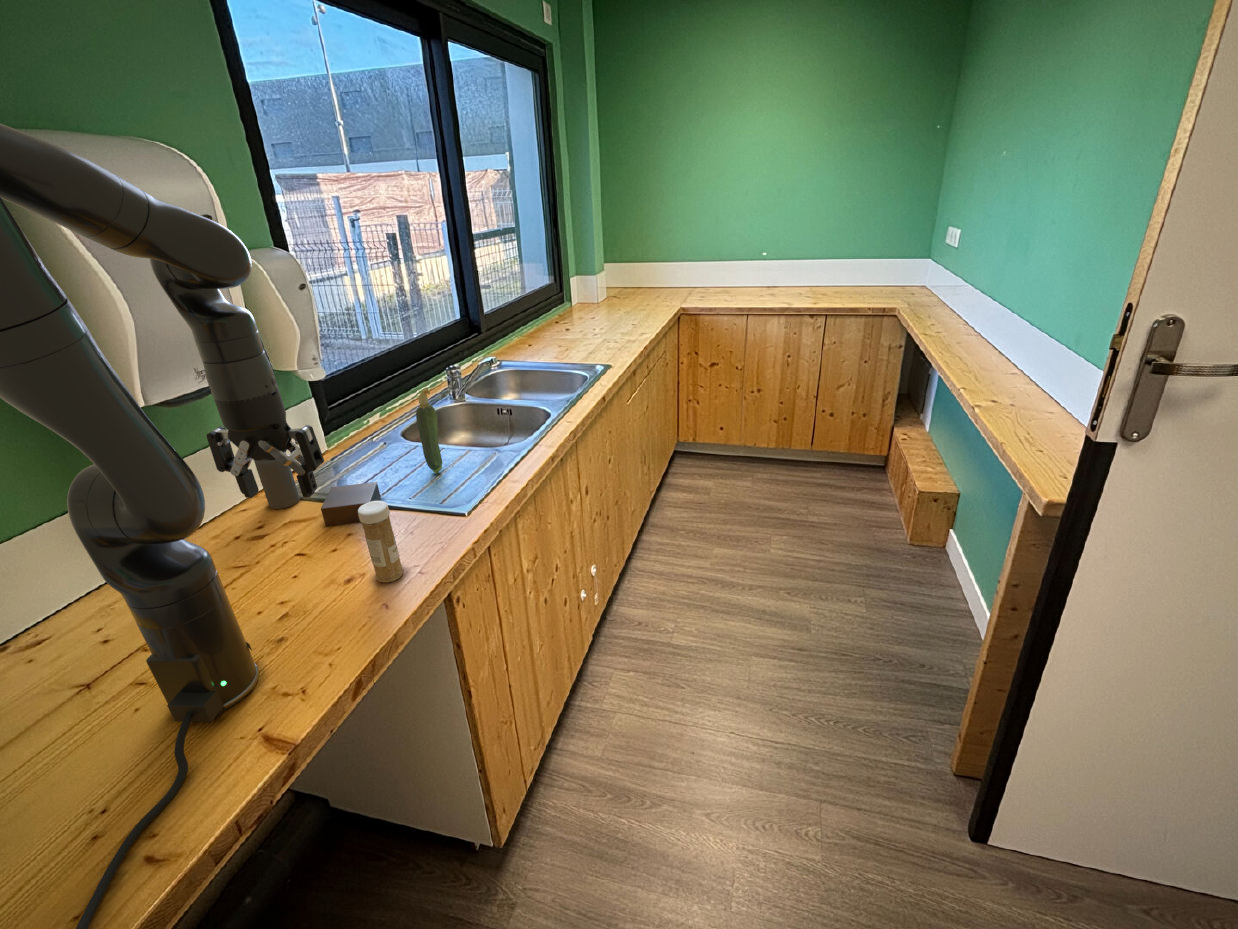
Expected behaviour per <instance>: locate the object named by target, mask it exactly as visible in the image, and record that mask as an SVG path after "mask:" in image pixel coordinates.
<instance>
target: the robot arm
mask: <svg viewBox="0 0 1238 929" xmlns="http://www.w3.org/2000/svg"><path fill="white" fill-rule="evenodd" d="M4 201H5V202H8V203H11V204H13V205H15V206H18V207H19V208H22V209H24V210H26V211H29V212H31V213H33V214H35V215H38V216H40V217H41V218H44V219H46V220H48V221H51V222H53V223H55V224H57V225H59V226H61V227H63V228H66V229H67V230H70V231H72V232H74V233H76V234H78V235H80V236H82V237H84V238H86V239H89V240H91V241H93V242H95V243H98V244H99V245H102V246H104V247H106V248H108V249H111V250H113V251H115V252H117V253H120V254H123V255H126V256H130V257H134V258H142V259H149V264H150V266H151V269H152V271H153V275H154V276H155V278H156V280H157V282H158V283H159V285H160V286H161V288H162V290H163V291H164V293H165V294H166V295H167V297H168V299H170V301H171V303H172V305H173V306H174V308H175V310H176V311H177V312H178V314H179V315H180V317H181V318H182V319H183V320H184V321H185V323H186V324H187V325H188V327H189V329H190V330H191V333H192V336H193V339H194V343H195V345H196V348H197V351H198V354H199V356H200V359H201V362H202V365H203V369H204V375H205V379H206V383H207V385H208V388H209V390H210V393H211V396H212V398H213V401H214V403H215V407H216V410H217V411H218V415H219V417H220V420H221V422H222V425H220V426H218V427H215V428H214V429H213V430H211V431H210V432H208V433H207V434H206V439H207V442H208V446H209V449H210V452H211V455H212V458H213V462H214V464H215V468H216V470H217V471H218V472H219V473H224V472H226V473H227V472H228V473H230V474H231V475H232V476H234V478H235V480H236V483H237V486H238V488H239V491H240V493H241V494H242V495H244V497H245V499H253V498H254V497H255V496H256V495H257V494H259V491H260V489H259V486H258V482H257V481H256V478H255V475H254V473H253V470H252V468H250V466H251V464H252V461H253V462H254V461H259V460H263V459H266V460H276V459H277V460H278V461H279V462H280V463H281V464H283V465H285V466H289V467H290V468H291V471H294V472H295V473H296V474H297V475H296V476H295V477H296V480H297V483H298V486H299V489H300V492H301V495H302V498H305V499H306V498H307V499H310V498H311V497H312V496H313V495H314V494H315V493H316V491H317V489H318V484H317V481H316V477H315V474H314V472H315V471H316V470H317V469H318V468H320V466H322V465H323V464H324V463H325V459H324V456H323V452H322V450H321V447H320V444H319V442H318V438H317V436H316V434H315V431H314V428H313V426H312V425H309V424H305V425H304V426H302V427H299V428H292V427H291V426H290V425H289V424H288V422H287V412H286V407H285V405H284V402H283V398H282V394H281V392H280V389H279V385H278V382H277V379H276V377H275V376H276V375H275V373H274V370H273V367H272V364H271V362H270V360H269V358H268V355H267V353H266V351H265V349H264V346H263V342H262V339H261V336H260V332H259V329H258V327H257V322H256V320H255V318H254V316H253V314H252V312H250V310H248V309H247V308H246V307H242V306H239V305H236V304H233V303H232V302H230V301H228V300H227V299H226V298H225V296H224V295H223V294H222V292H221V290H229V289H233V288H237V287H239V286H241V285H242V284H244V283H245V282H246V281H247V280H248V278H249V277H250V275H251V273H252V269H253V268H252V267H253V265H252V264H253V262H252V257H251V254H250V252H249V250H248V248H247V247H246V246H245V243H243V241H242V240H241V239H240V238H239V236H237V235H236V234H235V233H233V231H232V230H230V229H229V228H227V227H225V226H224V225H222V224H220V223H218V222H216V221H214V220H211V218H210V219H209V218H208V217H205V216H202V215H200V214H197V213H195V212H192V211H190V210H188V209H185V208H183V207H180V206H177V205H175V204H172V203H168V202H166V201H163V200H161V199H158V198H156V197H154V196H152V195H151V194H150V193H147V192H146V191H144V190H143V189H141V188H139V187H138V186H136V185H134V184H132V183H130V182H129V181H128V180H125V179H124V178H122V177H121V176H119V175H117V174H115V173H113V171H110V170H109V169H107V168H105V167H104V166H102V165H100V164H98V163H96V162H94V161H92V160H90V159H88V158H87V157H84V156H82V155H80V154H78V153H75V152H73V151H71V150H68V149H66V148H64V147H61V146H59V145H57V144H54V143H52V142H49V141H47V140H45V139H42V138H39V137H37V136H34V135H31V134H29V133H26V132H24V131H21V130H19V129H16V128H13V127H11V126H8V125H5V124H3V123H1V122H0V399H1V400H3V401H4V402H5V403H6V404H8V405H9V406H11V407H13V408H14V409H16V410H17V411H18V412H21V413H22V414H23V415H25V416H27V417H29V418H30V419H31V420H34V421H35V422H37V423H39V424H40V425H42V426H44V427H45V428H47V429H48V430H50V431H52V432H53V433H55V434H56V435H58V436H59V437H61V438H62V439H63V440H65V441H67V442H68V443H70V444H71V445H72V446H74V448H76V449H77V450H79V451H80V452H81V453H82V454H83V455H84V456H85V457H87V458H88V460H89V461H91V463H92V464H91V465H88V466H87V467H85V468H83V469H82V470H81V471H79V472H78V473H77V474H76V476H75V477H74V478H73V480H72V481H71V483H70V486H69V488H68V492H67V496H66V497H67V498H66V508H67V513H68V517H69V520H70V523H71V526H72V528H73V530H74V532H75V534H76V536H77V537H78V540H79V541H80V543H81V544H82V546H83V548H84V550H85V551H86V553H87V554H88V556H89V558H90V559H91V561H92V562H93V564H94V566H95V567H96V570H97V571H98V573H99V575H100V576H101V577H102V579H103V580H104V582H105V583H106V584H107V585H108V586H109V587H111V588H112V589H114V590H115V591H116V592H118V593H119V594H120V595H121V596H122V598H123V600H124V602H125V604H126V606H127V608H128V609H129V611H130V613H131V616H132V617H133V620H134V621H135V624H136V625H137V628H138V629H139V631H140V633H141V636H142V638H143V639H144V641H145V644H146V646H147V648H148V650H149V651H150V655H149V656H148V657H146V660H145V662H146V664H147V666H148V668H149V670H150V672H151V674H152V676H153V678H154V680H155V682H156V684H157V686H158V688H159V690H160V692H161V694H162V695H163V698H164V699H165V701H166V703H167V705H166V706H167V708H168V710H169V712H170V714H171V716H172V718H173V720H174V722H176V723H177V722H178V723H179V722H181V724H180V727H179V730H178V731H177V736H176V739H175V742H174V752H173V753H174V759H175V761H176V764H177V768H178V770H177V774H176V776H175V779H174V782H173V784H172V785H171V787H170V788H169V790H167V792H166V793H165V794H164V796H163V797H162V798H161V799H160V800H159V801H158V802H157V803H156V804H155V805H154V806H153V807H152V808H151V809H150V810H149V811H148V812H147V813H146V814H145V815H144V816H143V817H142V818H141V819H140V820H139V821H138V822H137V824H135V826H133V828H132V829H131V831H130V832H129V833H128V834H127V836H126V837H125V839H124V840H123V842H122V843H121V845H120V846H119V847H118V849H117V851H116V852H115V854H114V856H113V857H112V859H111V861H110V863H109V865H108V866H107V867H106V870H105V871H104V873H103V874H102V876H101V878H100V880H99V881H98V884H97V886H96V888H95V890H94V891H93V893H92V896H90V899H89V901H88V903H87V905H86V907H85V909H84V911H83V913H82V915H81V917H80V919H79V921H78V923H77V926H76V927H75V929H88V928H89V927H90V924H91V922H92V920H93V918H94V916H95V914H96V912H97V909H98V908H99V906H100V904H101V901H102V900H103V898H104V896H105V893H106V892H107V889H108V888H109V885H110V884H111V882H112V880H113V878H114V876H115V874H116V873H117V871H118V868H119V867H120V865H121V863H122V862H123V860H124V858H125V857H126V855H127V853H128V852H129V851H130V848H131V847H132V846H133V844H134V842H135V841H136V840H137V838H138V837H139V836H140V834H141V833H142V832H143V831H144V830H145V829H146V827H147V826H148V825H150V823H152V821H153V820H154V819H155V818H156V817H157V816H159V814H160V813H161V812H162V811H163V810H164V809H165V808H166V807H167V806H168V805H169V804H170V802H171V801H172V800H173V799H174V797H175V796H176V795H177V794H178V792H179V791H180V789H181V787H182V785H183V783H184V782H185V780H186V778H187V773H188V771H189V764H188V763H189V762H188V760H187V757H186V755H185V741H186V738H187V734H188V731H189V728H190V725H191V723H212V722H213V721H214V719H215V718H219V717H220V716H221V715H222V714H223V713H224V711H226V710H227V709H229V708H231V707H232V706H234V705H236V704H238V703H239V702H241V701H242V700H243V699H244V698H246V697H247V696H248V695H249V694H250V693H251V692H252V690H253V689H254V688H255V687H256V685H257V683H258V682H259V679H260V670H259V668H258V666H257V664H256V662H255V661H254V657H253V656H252V654H251V651H253V649H252V647H251V644H250V643H249V642H248V641H246V638H245V636H244V634H243V632H242V628H241V626H240V624H239V621H238V619H237V616H236V614H235V612H234V609H233V607H232V604H231V603H230V599H229V597H228V595H227V592H226V590H225V587H224V584H223V582H222V579H221V576H220V574H219V573H218V572H219V571H218V570H217V567H216V564H215V562H214V560H213V558H212V556H211V554H210V552H208V551H207V550H208V549H205V547H203V546H201V545H198V544H196V543H194V542H191V541H188V540H187V538H189V537H191V536H192V535H193V534H195V533H196V532H197V531H198V529H200V527H201V525H202V523H203V520H204V517H205V512H206V499H205V495H204V491H203V489H202V486H201V483H200V481H199V479H198V478H197V476H196V475H195V472H194V471H193V470H192V469H191V467H190V466H189V465H188V464H187V462H186V461H185V460H184V458H183V457H182V456H181V455H180V453H178V452H177V450H176V449H175V448H174V447H173V446H172V445H171V443H170V442H169V441H168V440H167V438H166V437H165V436H164V435H163V433H162V432H160V430H159V428H157V426H156V425H155V424H154V423H153V421H152V420H151V419H150V418H149V417H148V415H147V414H146V413H145V411H144V410H143V408H141V406H140V405H139V403H138V401H137V400H136V399H135V397H134V396H133V395H132V392H130V390H129V389H128V387H127V386H126V384H125V383H124V382H123V380H122V379H121V377H120V376H119V374H118V373H117V372H116V370H115V368H114V367H113V366H112V365H111V363H110V362H109V360H108V359H107V357H106V356H105V354H104V353H103V352H102V350H101V348H100V347H99V345H98V343H97V341H96V340H95V338H94V336H93V335H92V333H91V331H90V329H89V328H88V327H87V324H85V322H84V320H83V319H82V317H81V316H80V314H79V313H78V311H77V310H76V308H75V306H74V305H73V304H72V302H71V301H70V299H69V297H67V295H66V293H65V292H64V290H63V289H62V288H61V286H60V285H59V284H58V282H57V280H55V278H54V277H53V275H52V274H51V273H50V271H49V270H48V269H47V267H46V266H45V264H44V262H43V261H42V259H41V257H40V256H39V255H38V253H37V251H36V250H35V248H34V247H33V245H32V243H31V242H30V240H29V239H28V237H27V235H26V234H25V233H24V231H23V229H22V228H21V226H20V225H19V223H18V221H17V220H16V218H15V217H14V215H13V214H12V212H11V210H10V209H9V208H8V206H7V205H6V203H5V202H4ZM292 440H294V442H293V441H292ZM231 443H232V444H233V445H234V446H235V447H236V448H238V449H237V451H236V453H235V454H234V451H233V447H232V444H231ZM287 451H288V452H289V453H290V454H287ZM285 453H286V454H285Z"/></svg>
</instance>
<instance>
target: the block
mask: <svg viewBox="0 0 1238 929" xmlns="http://www.w3.org/2000/svg"><path fill="white" fill-rule="evenodd" d="M372 501H382V497H381V492H380V488H379V485H378V481H372V482H371V481H370V482H363V483H362V482H361V483H356V484H347V485H346V484H345V485H339V486H338V485H337V486H331V487H330V489H329V490H328V493H327V495H326V497H325V499H324V501H323V503H322V505H321V507H320V512H321V515H322V518H323V521H324V522H323V523H324V526H325V527H332V526H341V525H346V524H355V523H356V524H357V523H361V521H360V519H359V515H358V509H359V508H360V507H361V506H362V505H364V504H366V503H368V502H372Z"/></svg>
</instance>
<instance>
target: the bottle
mask: <svg viewBox="0 0 1238 929" xmlns="http://www.w3.org/2000/svg"><path fill="white" fill-rule="evenodd" d="M285 454H286V455H287V452H285ZM253 462H254V466H255V470H256V471H257V474H258V478H259V480H260V483H261V487H262V489H263V492H264V496H265V498H266V501H267V504H268V506H269V508H270V509H274V510H279V509H280V510H281V509H286V508H290V507H293V506H294V505H296V504H298V503H299V501H300V499H301V498H300V494H299V491H298V486H297V484H296V481H295V477H294V475H293V470H292V469H291V468H290V467H289V466H285V465H283V464H281V463H280V462H279V461H278V460H277V459H276V460H266V459H263V460H259V461H254V460H253Z"/></svg>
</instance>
